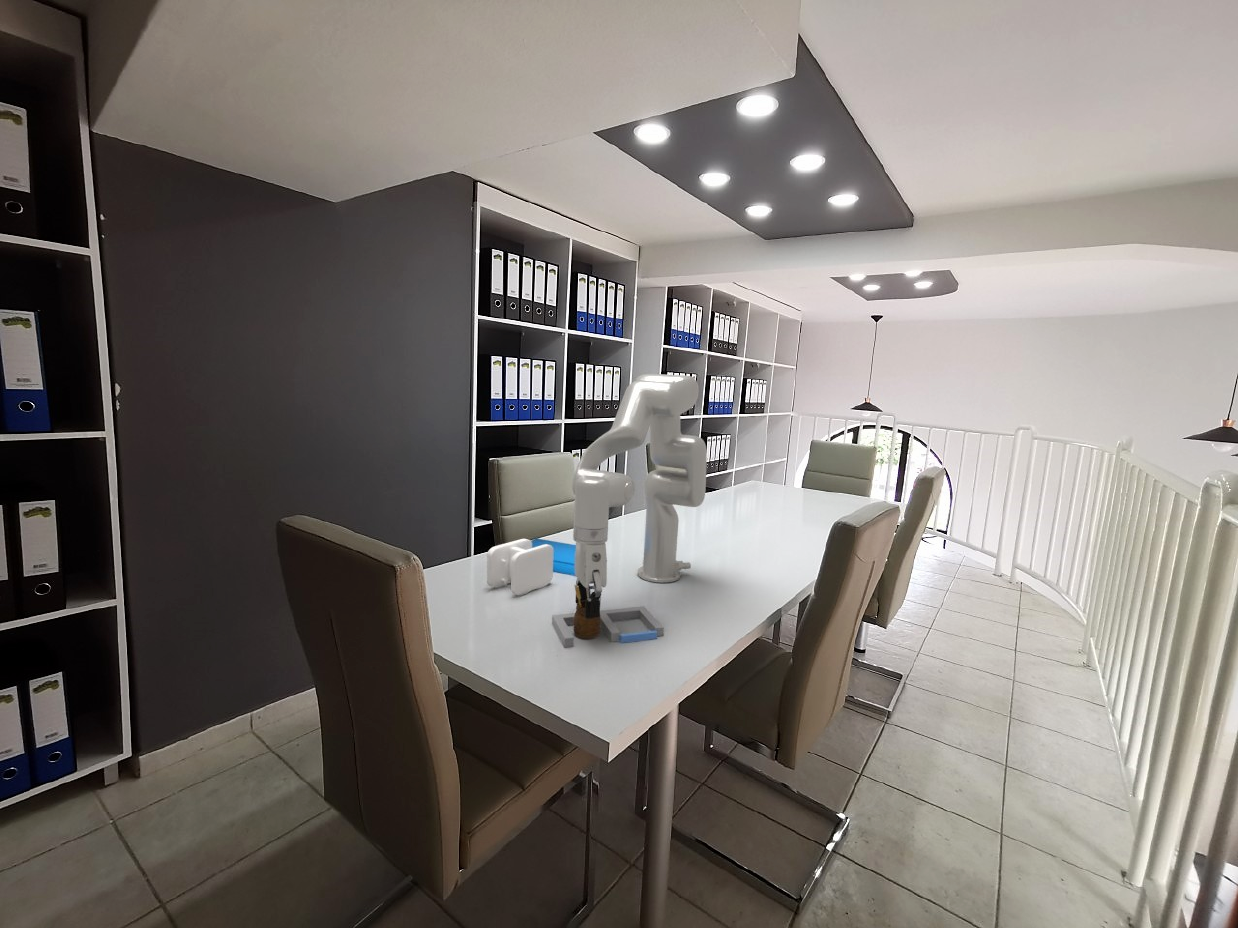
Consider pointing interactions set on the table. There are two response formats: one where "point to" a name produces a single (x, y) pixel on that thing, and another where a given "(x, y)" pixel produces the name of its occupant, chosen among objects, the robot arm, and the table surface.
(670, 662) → the table surface
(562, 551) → the book
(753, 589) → the table surface
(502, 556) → the cable organizer
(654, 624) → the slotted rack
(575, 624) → the utensil holder
